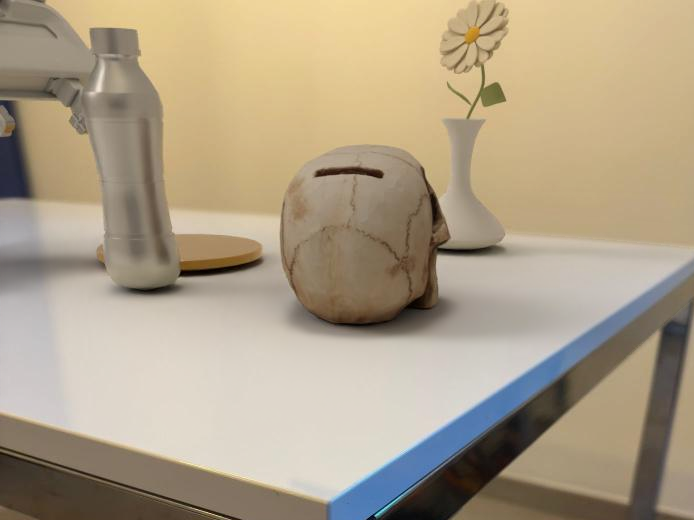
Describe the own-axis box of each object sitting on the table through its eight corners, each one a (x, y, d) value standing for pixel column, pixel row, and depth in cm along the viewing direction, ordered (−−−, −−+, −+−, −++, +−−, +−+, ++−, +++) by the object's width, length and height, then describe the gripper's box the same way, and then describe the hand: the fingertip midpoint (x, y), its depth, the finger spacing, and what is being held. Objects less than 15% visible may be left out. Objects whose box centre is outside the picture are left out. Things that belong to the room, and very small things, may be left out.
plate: (65, 271, 77) (63, 255, 76) (143, 244, 91) (141, 231, 91) (230, 280, 74) (229, 264, 73) (282, 251, 89) (282, 237, 88)
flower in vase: (392, 242, 95) (397, 0, 84) (472, 238, 100) (488, 6, 88) (444, 261, 85) (458, -13, 73) (531, 255, 89) (557, -5, 78)
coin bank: (400, 276, 76) (407, 125, 68) (494, 340, 63) (515, 162, 55) (244, 295, 70) (233, 131, 63) (313, 369, 57) (308, 175, 50)
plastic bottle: (153, 299, 67) (119, 25, 57) (91, 291, 69) (49, 26, 60) (198, 285, 72) (174, 31, 63) (139, 278, 74) (108, 33, 65)
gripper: (-168, -57, 56) (-43, 99, 57) (52, -18, 73) (147, 103, 74) (-187, 17, 60) (-69, 163, 61) (26, 38, 76) (116, 153, 77)
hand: (50, 130), depth 67 cm, fingers open, 8 cm apart
